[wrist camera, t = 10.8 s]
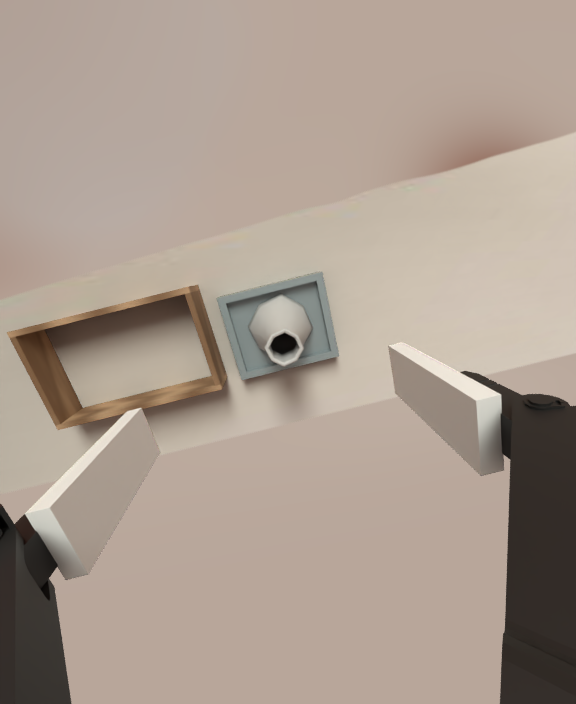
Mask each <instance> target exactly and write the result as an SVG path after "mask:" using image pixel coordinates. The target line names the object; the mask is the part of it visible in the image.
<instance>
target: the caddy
mask: <svg viewBox="0 0 576 704" xmlns="http://www.w3.org/2000/svg"><path fill="white" fill-rule="evenodd" d="M183 294H185V297H186V300H187V303H188V306H189V309H190V312H191V315H192V318H193V321H194V324H195V327H196V330H197V333H198V336H199V339H200V342H201V344H202V347H203V350H204V353H205V356H206V359H207V362H208V365H209V368H210V371H211V374H212V376H210V377H206V378H202V379H198V380H194V381H190V382H186V383H182V384H178V385H174V386H170V387H165V388H161V389H157V390H153V391H149V392H145V393H141V394H137V395H133V396H129V397H125V398H121V399H117V400H113V401H109V402H105V403H101V404H97V405H93V406H89V407H85V408H82V406H81V404H80V402H79V400H78V398H77V396H76V394H75V392H74V390H73V388H72V385H71V383H70V381H69V379H68V377H67V375H66V373H65V371H64V369H63V367H62V365H61V363H60V361H59V359H58V357H57V355H56V352H55V350H54V348H53V346H52V344H51V342H50V340H49V338H48V336H47V334H46V332H45V330H44V329H48V328H52V327H56V326H60V325H64V324H68V323H72V322H76V321H80V320H83V319H87V318H91V317H95V316H99V315H103V314H107V313H111V312H115V311H119V310H123V309H127V308H131V307H135V306H139V305H143V304H147V303H151V302H155V301H159V300H163V299H167V298H171V297H175V296H179V295H183ZM7 334H8V336H9V338H10V340H11V342H12V344H13V345H14V347H15V349H16V351H17V353H18V355H19V357H20V359H21V361H22V363H23V365H24V366H25V368H26V370H27V372H28V374H29V376H30V378H31V380H32V382H33V384H34V386H35V387H36V389H37V391H38V393H39V395H40V397H41V399H42V401H43V403H44V405H45V407H46V408H47V410H48V412H49V414H50V416H51V418H52V420H53V422H54V424H55V426H56V428H57V430H60V429H64V428H68V427H72V426H76V425H80V424H84V423H88V422H92V421H96V420H100V419H104V418H108V417H113V416H117V415H121V414H125V413H126V412H127V411H130V410H134V409H138V408H142V409H145V408H149V407H153V406H157V405H161V404H165V403H169V402H173V401H177V400H181V399H185V398H189V397H193V396H197V395H201V394H205V393H209V392H214V391H218V390H222V389H223V386H224V384H225V381H226V379H227V375H226V371H225V368H224V365H223V362H222V359H221V356H220V353H219V350H218V346H217V343H216V340H215V337H214V334H213V331H212V328H211V325H210V322H209V318H208V315H207V312H206V309H205V306H204V303H203V300H202V297H201V293H200V290H199V287H198V285H195V286H190V287H186V288H182V289H178V290H174V291H170V292H166V293H162V294H158V295H154V296H150V297H146V298H142V299H138V300H134V301H130V302H126V303H122V304H118V305H114V306H110V307H106V308H102V309H98V310H94V311H90V312H86V313H82V314H78V315H74V316H70V317H66V318H62V319H58V320H54V321H50V322H47V323H43V324H39V325H35V326H31V327H27V328H23V329H19V330H15V331H11V332H7Z"/></svg>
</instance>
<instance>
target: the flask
mask: <svg viewBox="0 0 576 704" xmlns="http://www.w3.org/2000/svg"><path fill="white" fill-rule="evenodd" d="M248 328H249V330H250V332H251V334H252V336H253V338H254V340H255V341H256V343H257V345H258V347H259V348H260V349H262V350H264V351H266V352H267V354H268V356H269V358H270V360H271V361H273V362H275V363H277V364H279V365H281V366H283V367H285V366H287V365H289V364H292V363H294V362H296V361H297V360H298V358H299V357H300V355H301V353H302V351H303V349H304V347H303V345H304V343H305V341H306V340H307V338H308V336H309V334H310V332H311V330H312V329H313V326H312V324H311V321H310V319H309V317H308V315H307V313H306V310H305V308H304V306H303V305H301V304H300V303H298V302H296V301H294V300H292V299H290V298H288V297H286V296H284V295H283V294H280V295H278V296H276V297H274V298H271V299H269V300H267V301H265V302H263V303H261V304H259V305H258V307H257V309H256V311H255V313H254V315H253V317H252V319H251V321H250V323H249V325H248Z"/></svg>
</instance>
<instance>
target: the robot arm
mask: <svg viewBox="0 0 576 704" xmlns="http://www.w3.org/2000/svg"><path fill="white" fill-rule="evenodd" d="M388 347H389V354H390V361H391V367H392V374H393V381H394V387H395V394H397V395H398V396H399V397H400V398H401V399H402V400H403V401H404V402H405V403H406V404H407V405H408V406H409V407H410V408H411V409H412V410H413V411H414V412H415V413H416V414H417V415H418V416H419V417H420V418H421V419H422V420H423V421H425V422H426V423H427V424H428V425H429V426H430V427H431V428H432V429H433V430H434V431H435V432H436V433H437V434H438V435H439V436H440V437H441V438H442V439H443V440H444V441H445V442H446V443H447V444H448V445H450V446H451V448H453V450H455V451H456V452H457V453H458V454H459V455H460V456H461V457H462V458H463V459H464V460H465V461H466V462H467V463H468V464H469V465H470V466H471V467H472V468H473V469H474V470H475V471H476V472H477V473H478V474H480V476H483V475H487V474H491V473H495V472H499V471H503V470H504V459H503V454H504V455H505V456H506V457H508V458H509V459H510V460H511V461H510V493H509V523H508V524H509V525H508V554H507V585H506V616H505V617H506V618H505V632H504V634H503V644H502V667H501V694H500V704H576V406H570V405H569V404H568V402H566V401H564V400H562V399H560V398H557V397H553V396H550V395H543V394H527V395H520V394H518V393H516V392H514V391H512V390H510V389H508V388H506V387H504V386H502V385H500V384H497V383H496V382H494V381H492V380H489V379H488V378H486V377H484V376H482V375H480V374H477V373H472V372H468V371H463V372H458V371H456V370H454V369H452V368H450V367H449V366H447V365H445V364H443V363H441V362H439V361H437V360H435V359H434V358H432V357H430V356H428V355H426V354H424V353H422V352H420V351H419V350H417V349H415V348H413V347H411V346H409V345H407V344H405V343H404V342H401V343H397V344H393V345H389V346H388ZM159 454H160V450H159V448H158V445H157V443H156V441H155V438H154V436H153V434H152V431H151V429H150V426H149V424H148V422H147V419H146V417H145V415H144V412H143V410H142V408H138V409H134V410H130V411H127V412H126V413H125V414H124V415H123V416H122V417H121V418H120V419H119V420H118V421H117V422H116V423H115V424H114V425H113V426H112V427H111V428H110V429H109V430H108V431H107V432H106V433H105V434H104V435H103V436H102V437H101V438H100V439H99V440H98V441H97V442H96V443H95V444H94V445H93V446H92V447H91V448H90V449H89V450H88V451H87V452H86V453H85V454H84V455H83V456H82V457H81V458H80V459H79V460H78V461H77V462H76V463H75V464H74V465H73V466H72V467H71V468H70V469H69V470H68V471H67V472H66V473H65V474H64V475H63V476H62V477H61V478H60V479H59V480H58V481H57V482H56V483H55V484H54V485H53V486H52V487H51V488H50V489H49V490H48V491H47V492H46V493H45V494H44V495H43V496H42V497H41V498H40V499H39V500H38V501H37V502H36V503H35V504H34V505H33V506H32V507H31V508H30V509H29V510H28V511H27V512H26V513H25V514H24V515H23V516H22V517H21V518H20V519H19V520H18V521H17V522H16V523H15V524H14V523H13V522H12V520H11V519H10V517H9V516H8V514H7V512H6V511H5V509H4V508H3V506H2V505H1V504H0V704H71V698H70V691H69V684H68V677H67V671H66V665H65V657H64V650H63V644H62V636H61V629H60V623H59V616H58V609H57V602H56V595H55V588H54V586H53V584H52V583H51V581H50V580H49V577H50V576H51V575H52V573H53V572H54V570H55V569H56V567H58V568H59V570H60V572H61V573H62V575H63V577H64V578H65V580H68V579H72V578H76V577H80V576H84V575H88V574H89V573H90V571H91V569H92V567H93V566H94V564H95V562H96V561H97V559H98V557H99V556H100V554H101V552H102V551H103V549H104V547H105V545H106V544H107V542H108V540H109V539H110V537H111V535H112V534H113V532H114V530H115V529H116V527H117V525H118V524H119V522H120V520H121V518H122V517H123V515H124V513H125V511H126V510H127V508H128V506H129V505H130V503H131V501H132V500H133V498H134V496H135V495H136V493H137V491H138V489H139V488H140V486H141V484H142V482H143V481H144V479H145V477H146V476H147V474H148V473H149V471H150V469H151V467H152V466H153V464H154V462H155V461H156V459H157V457H158V456H159Z"/></svg>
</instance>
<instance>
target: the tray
mask: <svg viewBox="0 0 576 704" xmlns="http://www.w3.org/2000/svg"><path fill="white" fill-rule="evenodd" d="M280 294H283V295H284V296H286V297H288V298H290V299H292V300H294V301H296V302H298V303H300V304H301V305H303V306H304V308H305V310H306V313H307V315H308V317H309V319H310V321H311V324H312V326H313V329H312V330H311V332H310V334H309V336H308V338H307V340H306V341H305V343H304V345H303V347H304V349H303V351H302V353H301V355H300V357H299V358H298V360H297V361H296V362H294V363H292V364H289V365H287V366H285V367H283V366H281V365H279V364H277V363H275V362H273V361H271V360H270V358H269V356H268V354H267V352H266V351H264V350H262V349H260V348H259V347H258V345H257V343H256V341H255V340H254V338H253V336H252V334H251V332H250V330H249V328H248V325H249V323H250V321H251V319H252V317H253V315H254V313H255V311H256V309H257V307H258V305H259V304H261V303H263V302H265V301H267V300H269V299H271V298H274V297H276V296H278V295H280ZM217 301H218V304H219V308H220V311H221V314H222V317H223V321H224V324H225V327H226V330H227V334H228V337H229V340H230V343H231V347H232V350H233V353H234V357H235V360H236V363H237V366H238V370H239V373H240V376H241V379H242V380H245V379H249V378H253V377H257V376H261V375H265V374H269V373H273V372H277V371H281V370H285V369H289V368H293V367H297V366H301V365H305V364H309V363H313V362H317V361H321V360H325V359H330V358H334V357H338V356H339V353H338V348H337V343H336V338H335V333H334V328H333V323H332V318H331V313H330V308H329V303H328V298H327V293H326V288H325V283H324V278H323V273H322V272H316V273H312V274H308V275H304V276H300V277H296V278H292V279H288V280H284V281H280V282H276V283H272V284H268V285H264V286H260V287H256V288H252V289H248V290H244V291H240V292H236V293H232V294H228V295H224V296H220V297H218V298H217Z"/></svg>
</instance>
